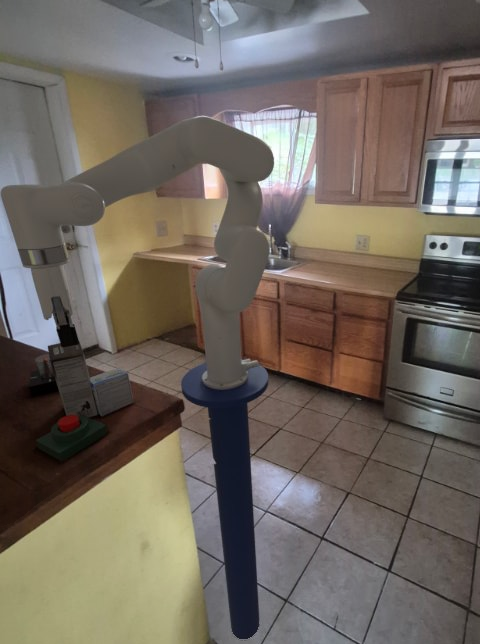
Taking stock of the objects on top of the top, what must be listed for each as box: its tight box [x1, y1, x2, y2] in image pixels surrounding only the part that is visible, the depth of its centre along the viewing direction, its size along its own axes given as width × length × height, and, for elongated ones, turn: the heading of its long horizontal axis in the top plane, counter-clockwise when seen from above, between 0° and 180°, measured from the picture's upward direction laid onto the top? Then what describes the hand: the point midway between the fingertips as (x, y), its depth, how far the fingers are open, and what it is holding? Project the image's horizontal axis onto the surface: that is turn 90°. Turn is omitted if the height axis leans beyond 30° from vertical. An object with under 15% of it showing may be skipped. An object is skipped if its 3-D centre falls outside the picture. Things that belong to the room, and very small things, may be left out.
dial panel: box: [28, 369, 59, 398], centre depth 98 cm, size 9×9×3 cm
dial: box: [34, 353, 55, 379], centre depth 97 cm, size 4×4×5 cm
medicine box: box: [90, 367, 135, 417], centre depth 88 cm, size 8×4×9 cm, turn 139°
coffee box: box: [47, 341, 99, 418], centre depth 85 cm, size 9×6×16 cm
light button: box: [57, 415, 80, 432], centre depth 76 cm, size 4×4×2 cm
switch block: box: [35, 415, 108, 463], centre depth 77 cm, size 10×8×4 cm
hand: (70, 344), depth 76 cm, fingers closed
